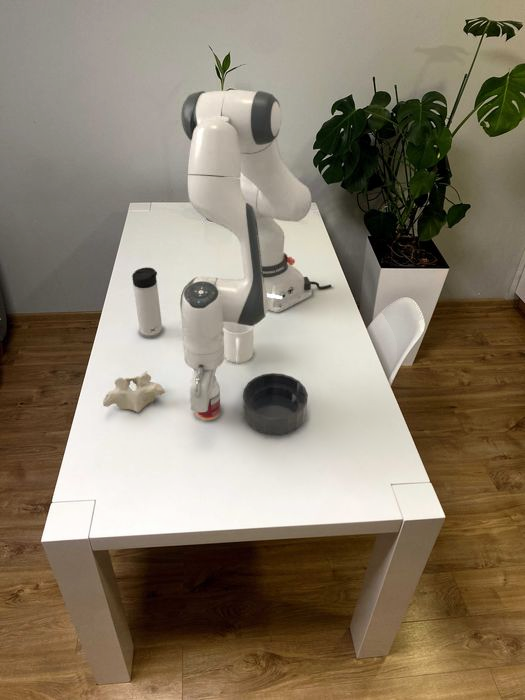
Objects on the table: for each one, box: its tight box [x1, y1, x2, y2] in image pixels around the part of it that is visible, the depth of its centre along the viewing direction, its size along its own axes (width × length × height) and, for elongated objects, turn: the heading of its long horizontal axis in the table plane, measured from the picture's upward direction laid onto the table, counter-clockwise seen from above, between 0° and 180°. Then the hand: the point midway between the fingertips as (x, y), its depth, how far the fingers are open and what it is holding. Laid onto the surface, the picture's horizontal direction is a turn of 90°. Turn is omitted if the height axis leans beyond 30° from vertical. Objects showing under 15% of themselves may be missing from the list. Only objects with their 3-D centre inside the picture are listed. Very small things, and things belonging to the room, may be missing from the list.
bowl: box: [242, 372, 309, 436], centre depth 130 cm, size 15×15×6 cm
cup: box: [223, 322, 255, 365], centre depth 144 cm, size 8×12×10 cm
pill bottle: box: [194, 375, 221, 421], centre depth 128 cm, size 6×6×11 cm
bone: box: [102, 370, 166, 413], centre depth 131 cm, size 9×14×8 cm, turn 125°
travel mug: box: [131, 267, 163, 339], centre depth 149 cm, size 6×7×20 cm
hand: (206, 396), depth 128 cm, fingers closed on pill bottle, 6 cm apart
